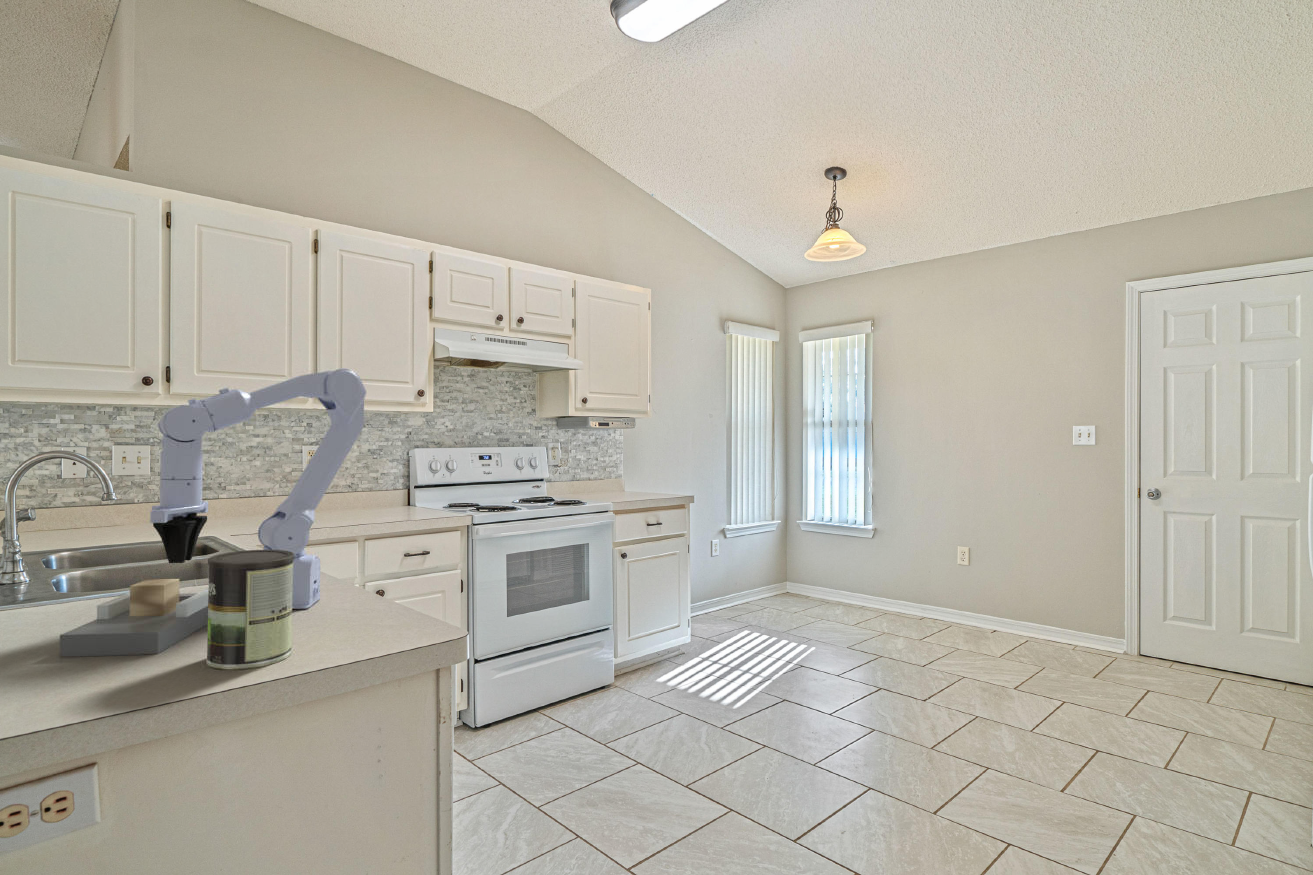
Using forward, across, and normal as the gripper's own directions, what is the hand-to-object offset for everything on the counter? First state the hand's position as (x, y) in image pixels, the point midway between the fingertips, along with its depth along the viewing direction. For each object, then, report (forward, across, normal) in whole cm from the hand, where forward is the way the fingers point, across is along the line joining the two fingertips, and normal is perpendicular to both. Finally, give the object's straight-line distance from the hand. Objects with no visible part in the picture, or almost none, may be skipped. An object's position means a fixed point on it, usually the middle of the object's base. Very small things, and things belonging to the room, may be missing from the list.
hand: (180, 561), depth 114 cm
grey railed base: (+9, +7, 0) cm, 12 cm away
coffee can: (+10, +22, +19) cm, 31 cm away
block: (+6, +8, 0) cm, 10 cm away
